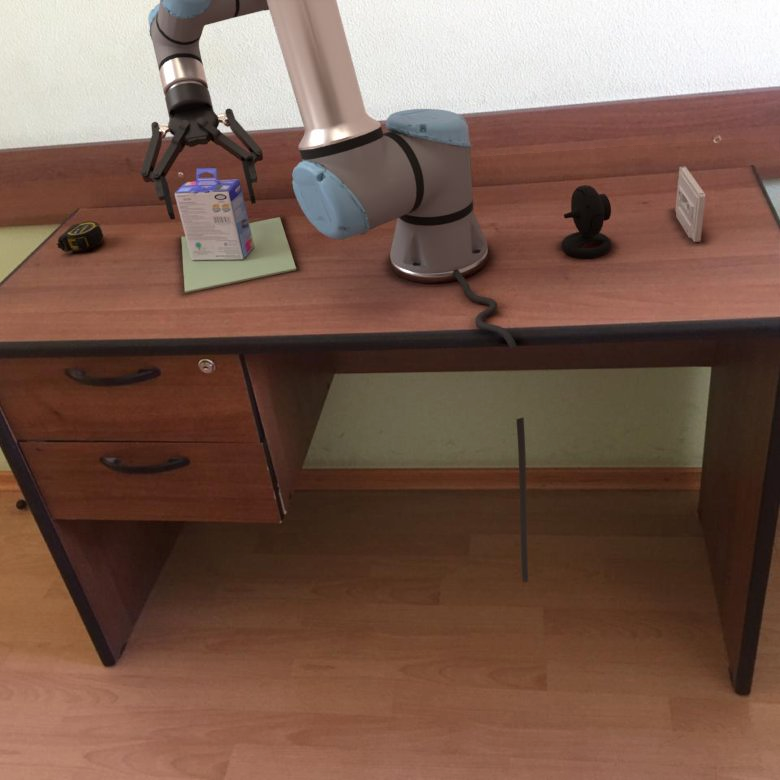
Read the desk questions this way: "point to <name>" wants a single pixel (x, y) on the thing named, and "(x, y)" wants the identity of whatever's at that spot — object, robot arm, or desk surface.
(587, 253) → the webcam
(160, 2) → the robot arm
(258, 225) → the mat
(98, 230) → the tape measure
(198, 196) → the ink cartridge box
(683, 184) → the cassette
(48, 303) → the desk surface
